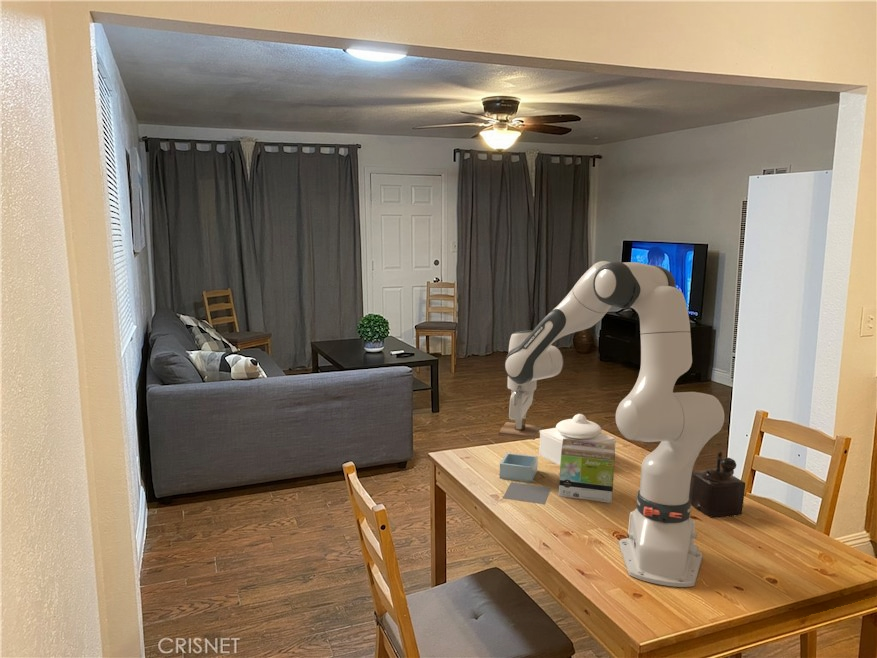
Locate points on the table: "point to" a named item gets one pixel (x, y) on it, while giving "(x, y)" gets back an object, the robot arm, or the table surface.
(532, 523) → the table surface
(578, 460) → the tea box
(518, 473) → the dish
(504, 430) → the lid
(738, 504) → the coffee grinder
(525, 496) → the mat
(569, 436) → the white lidded container
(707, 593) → the table surface
